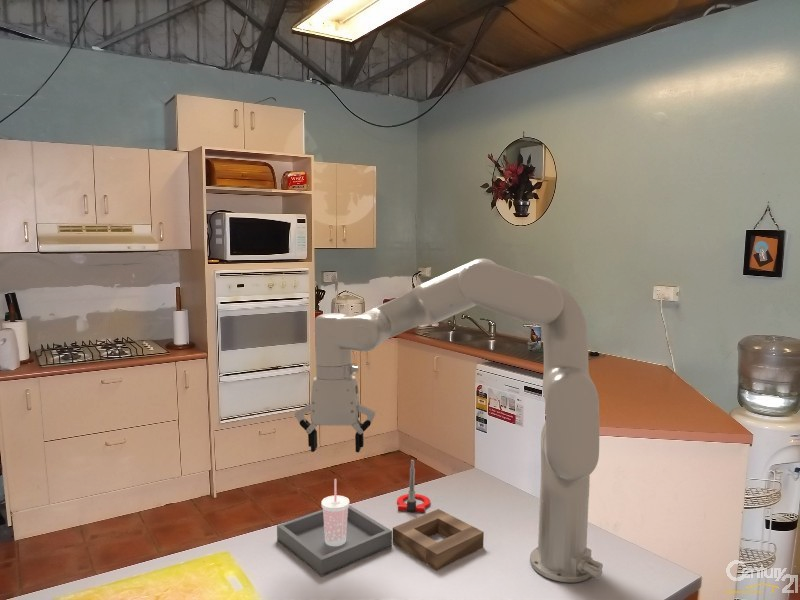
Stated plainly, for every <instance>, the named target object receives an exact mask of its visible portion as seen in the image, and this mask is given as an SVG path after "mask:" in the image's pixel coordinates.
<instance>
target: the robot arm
mask: <svg viewBox="0 0 800 600" xmlns="http://www.w3.org/2000/svg"><path fill="white" fill-rule="evenodd" d="M476 306H478V307H480V308H481V307H482V308H483V309H486V310H489V311H491V312H495V313H498V314H500V315H504V316H507V317H510V318H512V319H515V320H519V321H522V322H525V323H528V324H531V325H537V326H538V325H539V326H540V328H541V332H542V346H543V378H542V395H543V398H544V403H545V405H544V407H545V408H544V409H545V422H544V424H543V426H542V429H541V434H540V486H539V487H540V489H539V510H538V511H539V514H538V515H539V517H538V542H537V544H538V545H537V546H538V547H536V548H534V549H533V550H532V551H531V553H530V555H529V562H530V566H531V567H532V568H533V570H534V571H536V572H537V573H538V574H540V575H541V576H542V577H545V578H547V579H550V580H552V581H556V582H560V583H562V582H563V583H579V582H583V581H586V580H589V578H591V577H593V578H595V579H596V580H600V579H601V577H602V575H603V567H604V565H603V563H602V562H600V561H598V560H595V559H593V557H592V549H591V548H588V547H587V546H588V545H587V544H588V543H587V542H588V525H589V524H588V523H589V522H588V521H589V501H590V500H589V499H590V498H589V497H590V485H591V484H590V479H591V478H590V477H591V475H592V474H593V472H594V471H595V469H596V468H597V466H598V462H599V459H600V458H599V457H600V399H599V394H598V390H597V387H596V385H595V383H594V381H593V379H592V378H591V375H590V369H589V346H588V343H589V341H588V328H587V322H586V318H585V315H584V312H583V310H582V308H581V306H580V304H579V303H578V301H577V299H576V298H575V297H574V296H573V294H572V293H571V292H570V291H569V290H568V289H566V288H565V286H562V285H561V284H560V283H558V282H556V281H554V280H552V279H551V278H549V277H546V276H543V275H530V274H527V273H524V272H521V271H516V270H515V269H514V270H513V269H511V268H508V267H506V266H503V265H500V264H497V263H496V262H494V261H493V260H492V259H489V258H484V257H483V258H476V259H474V260H472V261H468V263H464V264H463V265H461V266H458V267H456V268H453V269H452V270H449V271H447V272H446V273H442V274H441V275H439V276H436V277H434V278H432V279H430V280H428V281H425V282H423V283H421V284H419V285H417V286H415V287H414V288H412V289H411V290H410V291H409V290H408V292H405V293H404V294H402V295H400V296H398V297H396V298H393V299H392V300H389V301H387V302H384V303H383V304H381V305H378V306H375V307H374V308H371V309H369V310H367V311H365V312H363V313H361V314H358V315H355V316H348V315H347V314H344V313H341V312H340V313H335V312H331V313H322V314H320V315H317V316H316V318H315V319H314V346H315V347H314V348H315V349H314V350H315V376H314V377H313V379H312V385H311V394H310V395H311V396H310V403H309V404H308V405H306V406H304V407H302V408H300V409H298V410H297V411H295V413H294V416H295V418H296V420H297V421H298V422H299V426H300V427H302V428H303V429H304V430H305V432H306V434H307V438H308V439H307V440H308V441H307V442H308V443H307V445H308V447H310V452H311V453H314V452H316V450H317V448H318V430H317V429H316V427H317V426H324V427H325V426H328V427H329V426H331V427H333V426H334V427H335V426H336V427H337V426H346V427H347V426H350V427H352V428H353V429H354V430H355V434H354V435H355V436H354V438H355V439H354V440H355V446H354V447H355V452H356V453H360V452H361V449H362V448H364V442H365V441H364V439H365V438H364V432H365V431H366V430H367V429H369V427H370V426H371V424H372V422H373V420H374V418H375V417H376V414H377V413H376V410H373V409H371V408H369V407H367V406H365V405H363V404H361V403H360V394H359V388H358V381H357V378H356V376H355V375H353V374H358V373H359V366H355V365H354V364H353V362H352V351H355V352H370V351H373V350H375V349H376V348H377V347H379V346H380V345H381V344H382V343H384V342H385V341H387V340H388V339H391V338H393V337H395V336H397V335H400V334H402V333H404V332H406V331H409V330H411V329H414V328H416V327H419V326H425V325H427V326H428V325H434V324H436V323H439V322H442V321H444V320H446V319H448V318H451V317H453V316H456V315H457V314H461V313H462V312H465V311H467V310H469V309H471V308H473V307H476ZM307 413H310V421H308V420H307V419H306V418H305V414H307ZM361 413H362V414H363V415H365V416H367V418H366V420H365V421H363V422H362V421H361V420H360V419H359V418H360V415H361ZM310 422H311V423H310Z"/></svg>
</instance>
